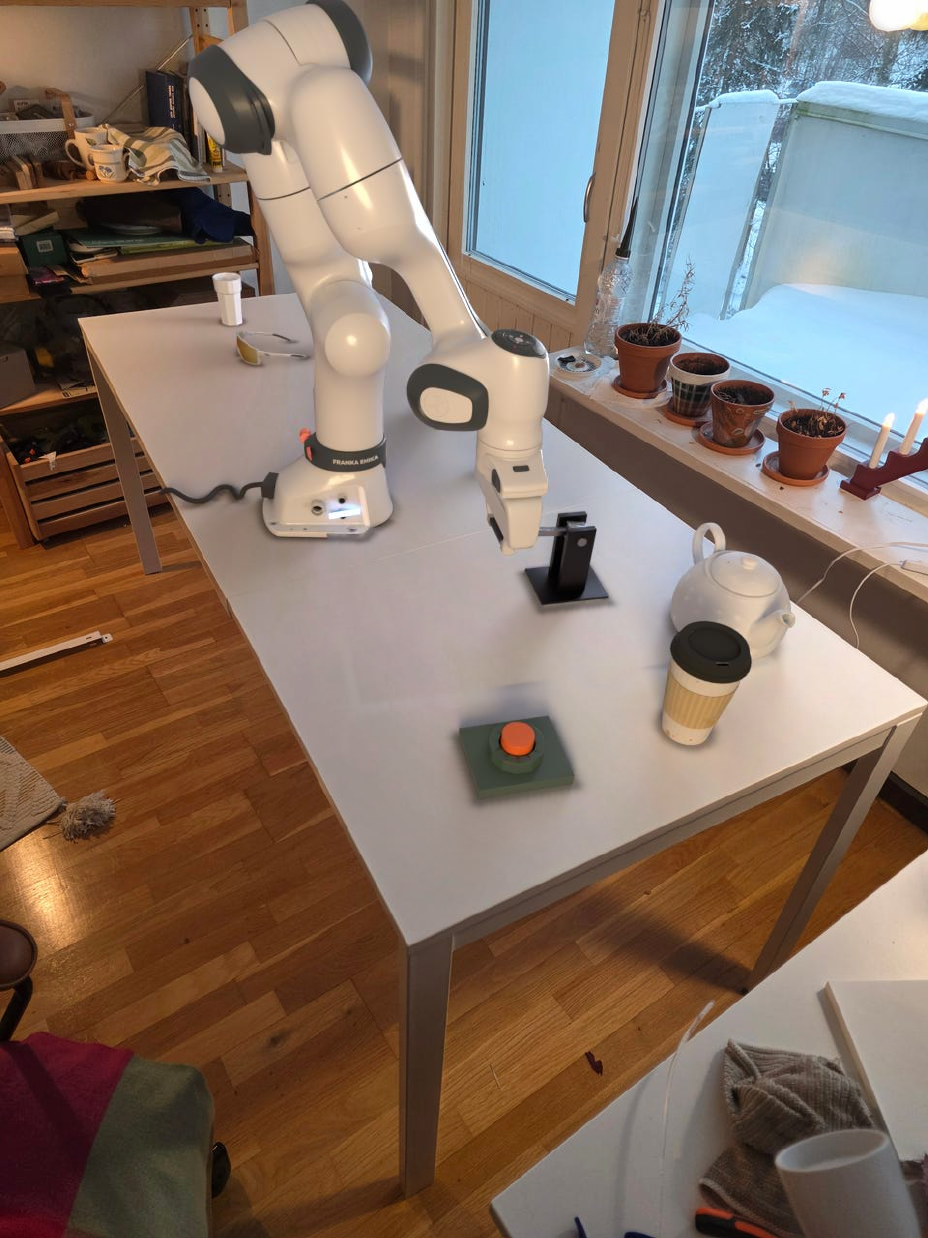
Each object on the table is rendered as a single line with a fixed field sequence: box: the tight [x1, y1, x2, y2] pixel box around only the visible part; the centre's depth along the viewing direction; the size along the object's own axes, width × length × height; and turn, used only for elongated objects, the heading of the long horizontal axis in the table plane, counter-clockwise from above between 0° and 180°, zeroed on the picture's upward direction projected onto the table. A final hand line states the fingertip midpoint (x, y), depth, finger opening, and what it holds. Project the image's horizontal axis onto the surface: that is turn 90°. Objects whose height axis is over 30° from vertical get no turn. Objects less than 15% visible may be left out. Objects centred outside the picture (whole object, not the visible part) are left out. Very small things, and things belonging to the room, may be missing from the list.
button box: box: [458, 715, 575, 800], centre depth 99 cm, size 12×10×4 cm
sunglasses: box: [235, 329, 308, 366], centre depth 189 cm, size 14×15×5 cm
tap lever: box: [489, 517, 587, 545], centre depth 119 cm, size 14×6×2 cm, turn 104°
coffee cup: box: [661, 621, 753, 746], centre depth 102 cm, size 10×10×15 cm
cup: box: [211, 271, 243, 327], centre depth 200 cm, size 7×7×11 cm
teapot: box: [669, 522, 796, 661], centre depth 119 cm, size 19×18×14 cm
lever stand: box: [524, 510, 610, 606], centre depth 124 cm, size 11×9×13 cm
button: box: [501, 722, 535, 756], centre depth 98 cm, size 4×4×2 cm
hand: (500, 538), depth 118 cm, fingers closed on tap lever, 6 cm apart
